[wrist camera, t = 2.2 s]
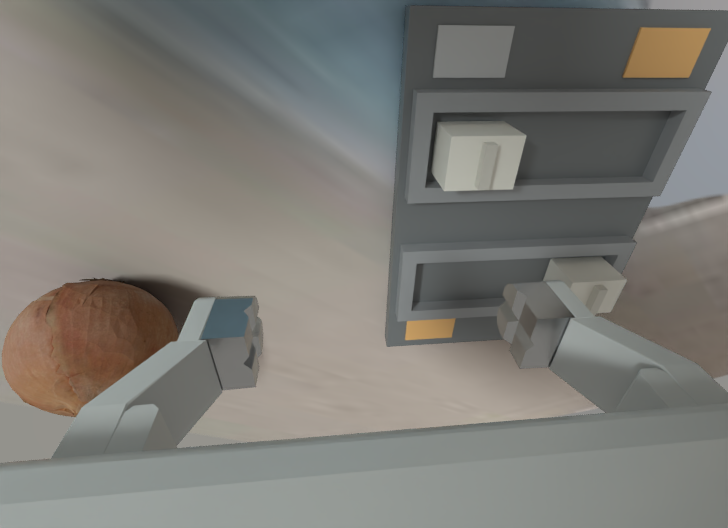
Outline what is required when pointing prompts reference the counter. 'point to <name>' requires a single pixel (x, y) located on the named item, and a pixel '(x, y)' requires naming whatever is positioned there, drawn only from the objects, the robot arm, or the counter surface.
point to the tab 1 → (476, 155)
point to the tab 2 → (588, 281)
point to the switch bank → (535, 148)
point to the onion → (82, 342)
